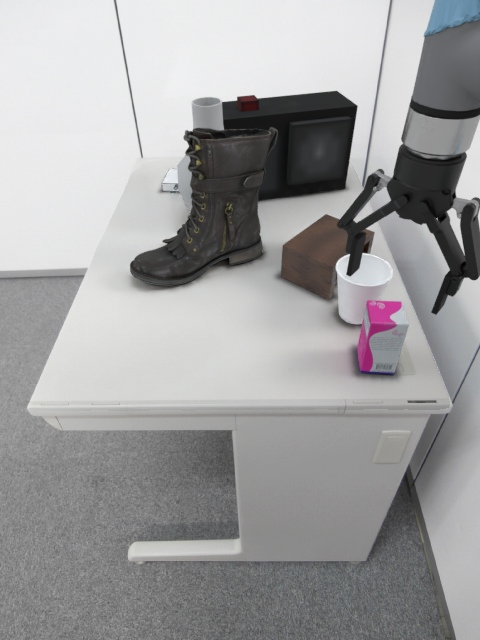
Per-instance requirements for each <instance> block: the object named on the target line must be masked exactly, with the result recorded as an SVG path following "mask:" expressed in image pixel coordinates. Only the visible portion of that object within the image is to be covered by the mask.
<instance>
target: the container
mask: <svg viewBox="0 0 480 640" xmlns="http://www.w3.org/2000/svg"><path fill="white" fill-rule="evenodd" d="M161 190H162V192H169V193H170V194H176V193H177V192H179V190H178V172H177V168H169V169H168V170H167V172H166V174H165V176H164V177H163V179H162V182H161ZM179 193H180V192H179Z"/></svg>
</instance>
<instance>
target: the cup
mask: <svg viewBox="0 0 480 640" xmlns="http://www.w3.org/2000/svg"><path fill="white" fill-rule="evenodd" d="M349 257H350V254H348V255H346V256H344V257H342V258H340V259H339V260H338V262H337V263H336V271H337V283H336V284H337V301H338V302H337V303H338V304H337V305H338V307H337V308H338V315H339V317H340V318H341V319H342V320H343V321H345V322H346V323H347V324H350V325H362V322H363V318H364V313H365V308H366V303H367V300H371V301H381V298H382V296H383V294H384V292H385V290H386V288H387V286H388V285H389V282H390V281H391V280H392V278H393V276H394V270H393V267H392V265H391V264H390V263H389V262H388V261H387V260H386V259H383V258H382V257H380V256H377V255H375V254H371V253H370V254H366V253H362V258H361V263H360V268H359V269H358V270H357V271H356V272H355V273H354V274H353V275H352V276H351V277H350V276H348V275H346V273H347V268H348V262H349Z"/></svg>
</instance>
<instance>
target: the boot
mask: <svg viewBox="0 0 480 640" xmlns="http://www.w3.org/2000/svg"><path fill="white" fill-rule="evenodd" d="M277 135H278V131H277V130H276V129H275V128H273V127H271V128H269V131H267V130H264V129H263V130H261V129H256V128H255V129H254V128H253V129H249V128H247V129H228V130H215V129H210V128H199V127H198V128H194V129H193V128H192V130H188V129H185V131H184V135H183V140H184V141H185V142H186V143H187V145H188V147H187V149H186V150H185V152H184V155H187V156H189V157H190V160H191V161H190V163H189V165H188V170H189V171H190V172H192V177H191V181H190V187H191V188H192V194H191V199H192V206H193V207H192V209H191V211H189V212H190V213H189V215H187V220H185V223H183V224H181V227H180V228H179V229H177V231H176V235H174V236H171V237H170V238H165V239H162V243H163V244H164V245H162V246H160V247H157V248H154V249H150V250H146V251H144V252H141V253H139V254H137V255H136V256H135V257H134V258H133V260H132V261H131V262H130V263H129V272H130V274H131V275H132V276H133V278H135V279H137V280H139V281H142V282H144V283H146V284H151V285H155V286H156V285H157V286H168V287H169V286H171V287H172V286H180V285H185V284H188V283H189V282H192V281H194V280H196V279H197V278H198V277H200V276H202V274H203V273H205V272H206V271H207V270H208V269H210V267H211V266H213V265H215V264H216V263H218V262H221V261H223V260H226V259H228V261H229V266H234V265H239V264H245V263H248V262H251V261H253V260H255V259H257V258H259V257H260V256H261V255H263V250H264V248H263V241H262V236H261V228H262V227H261V221H260V217H259V201H258V192H259V188H260V185H261V184H262V183H263V181H264V178H265V174H266V170H265V164H266V161H267V157H268V155H269V153H270V152H271V150H272V149H273V147H274V145H275V143H276V140H277Z"/></svg>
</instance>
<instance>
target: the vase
mask: <svg viewBox="0 0 480 640" xmlns="http://www.w3.org/2000/svg"><path fill="white" fill-rule="evenodd" d="M222 102H223V100H222V99H221V98H220V97H219V98H218V97H214V96H203V97H196V98H194V99H192V100H191V112H192V114H191V115H192V130H193V129H194V128H198V127H199V128H210V129H215V130H224V126H223V111H222ZM190 161H191V160H190V157H189V156H187V155H186V154H184V156H183V157H182V159H180V161H179V162H178V164H177V165H176V169H177V172H178V190H179V194H180V197H181V199H182V201H183V203H184V206H185V208H187V210H188V211H189V212H191V209H192V207H193V206H192V199H191V194H192V188H191V187H190V181H191V177H192V172H190V171H189V170H188V165H189V163H190Z"/></svg>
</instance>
